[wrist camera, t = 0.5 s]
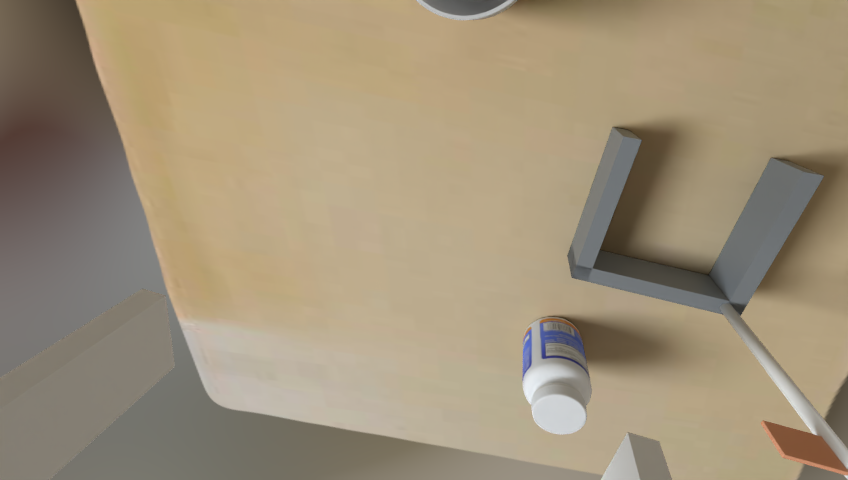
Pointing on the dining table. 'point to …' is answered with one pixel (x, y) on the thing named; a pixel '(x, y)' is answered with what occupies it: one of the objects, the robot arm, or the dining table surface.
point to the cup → (467, 8)
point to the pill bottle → (556, 375)
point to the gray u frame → (714, 276)
